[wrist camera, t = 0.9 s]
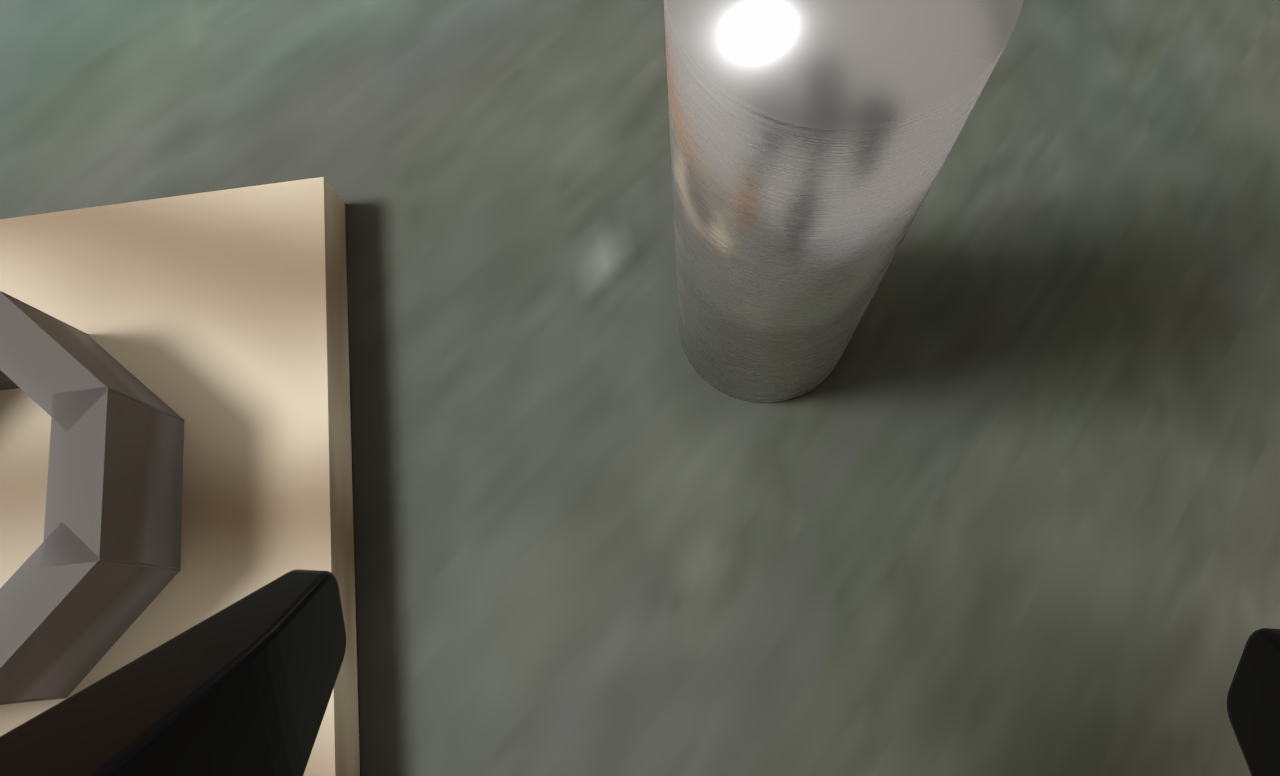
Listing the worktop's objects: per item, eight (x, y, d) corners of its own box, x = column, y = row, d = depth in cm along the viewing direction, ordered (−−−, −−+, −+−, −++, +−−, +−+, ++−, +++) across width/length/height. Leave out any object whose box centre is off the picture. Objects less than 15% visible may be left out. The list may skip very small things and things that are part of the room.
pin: (862, 391, 23) (1065, 98, 10) (690, 413, 23) (686, 148, 10) (832, 234, 24) (983, -200, 12) (669, 255, 24) (643, -152, 12)
